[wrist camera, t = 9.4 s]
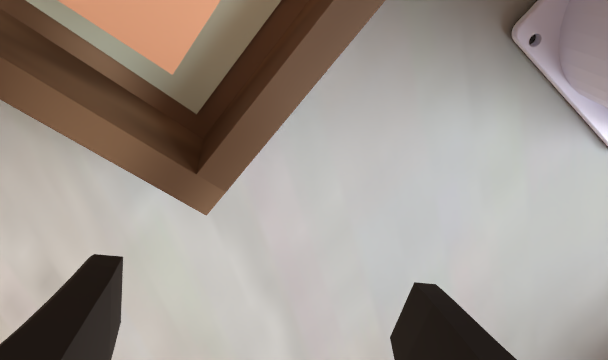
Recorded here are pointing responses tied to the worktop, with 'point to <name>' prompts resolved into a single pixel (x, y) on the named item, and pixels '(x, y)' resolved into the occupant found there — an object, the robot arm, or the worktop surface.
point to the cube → (150, 24)
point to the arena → (174, 85)
